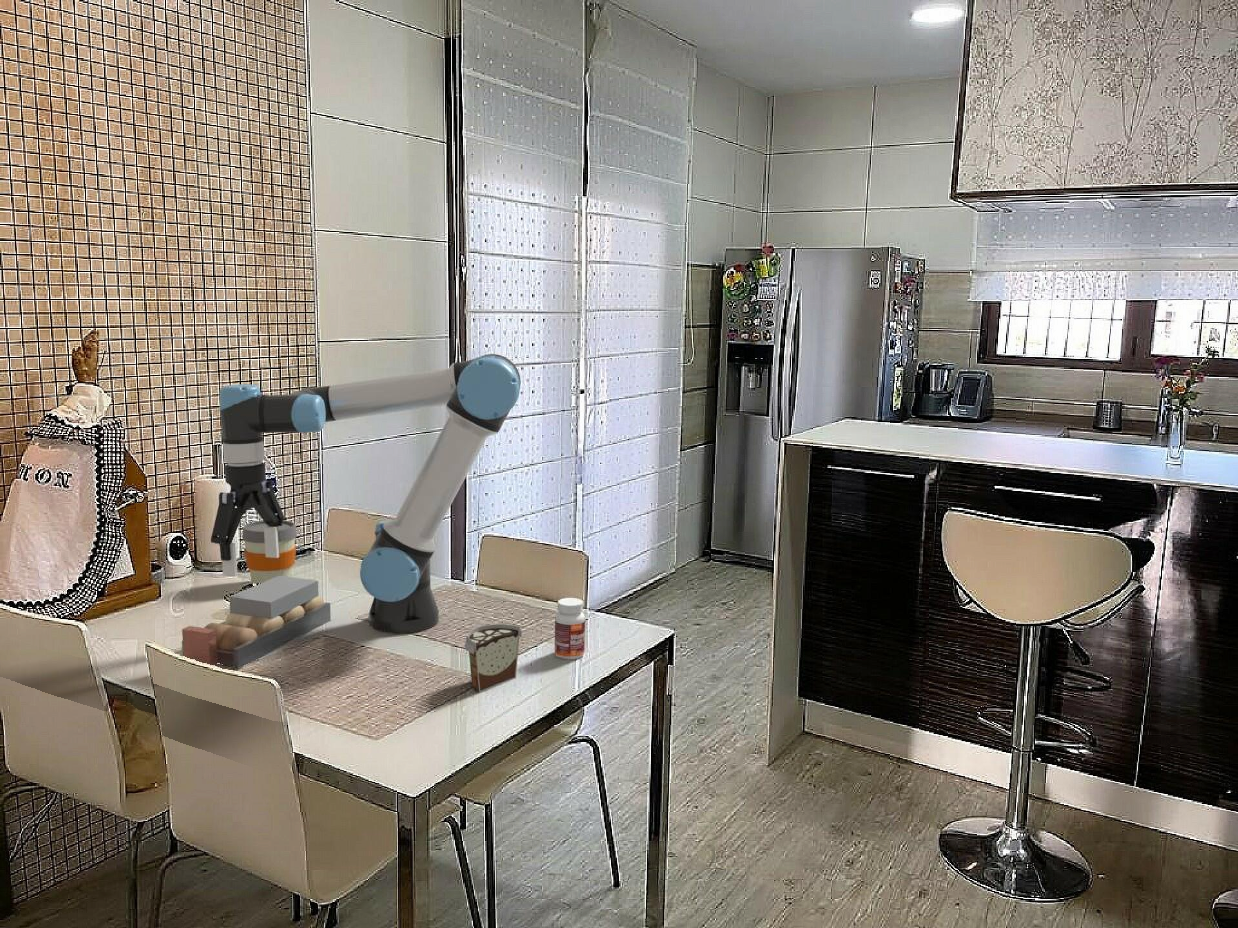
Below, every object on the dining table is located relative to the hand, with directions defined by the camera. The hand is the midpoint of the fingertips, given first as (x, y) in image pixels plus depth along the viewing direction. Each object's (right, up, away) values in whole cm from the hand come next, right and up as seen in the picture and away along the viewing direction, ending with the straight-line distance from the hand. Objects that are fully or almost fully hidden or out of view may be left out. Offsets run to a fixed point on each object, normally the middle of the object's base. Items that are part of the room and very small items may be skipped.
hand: (252, 566), depth 189 cm
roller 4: (+3, -14, +17) cm, 22 cm away
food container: (+49, -21, -12) cm, 55 cm away
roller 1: (-4, -17, -4) cm, 18 cm away
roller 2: (-1, -16, +4) cm, 16 cm away
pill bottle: (+64, -18, +2) cm, 67 cm away
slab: (+1, -9, +9) cm, 13 cm away
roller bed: (-1, -16, +4) cm, 17 cm away
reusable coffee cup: (-12, -9, +42) cm, 45 cm away
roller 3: (+1, -15, +11) cm, 18 cm away
